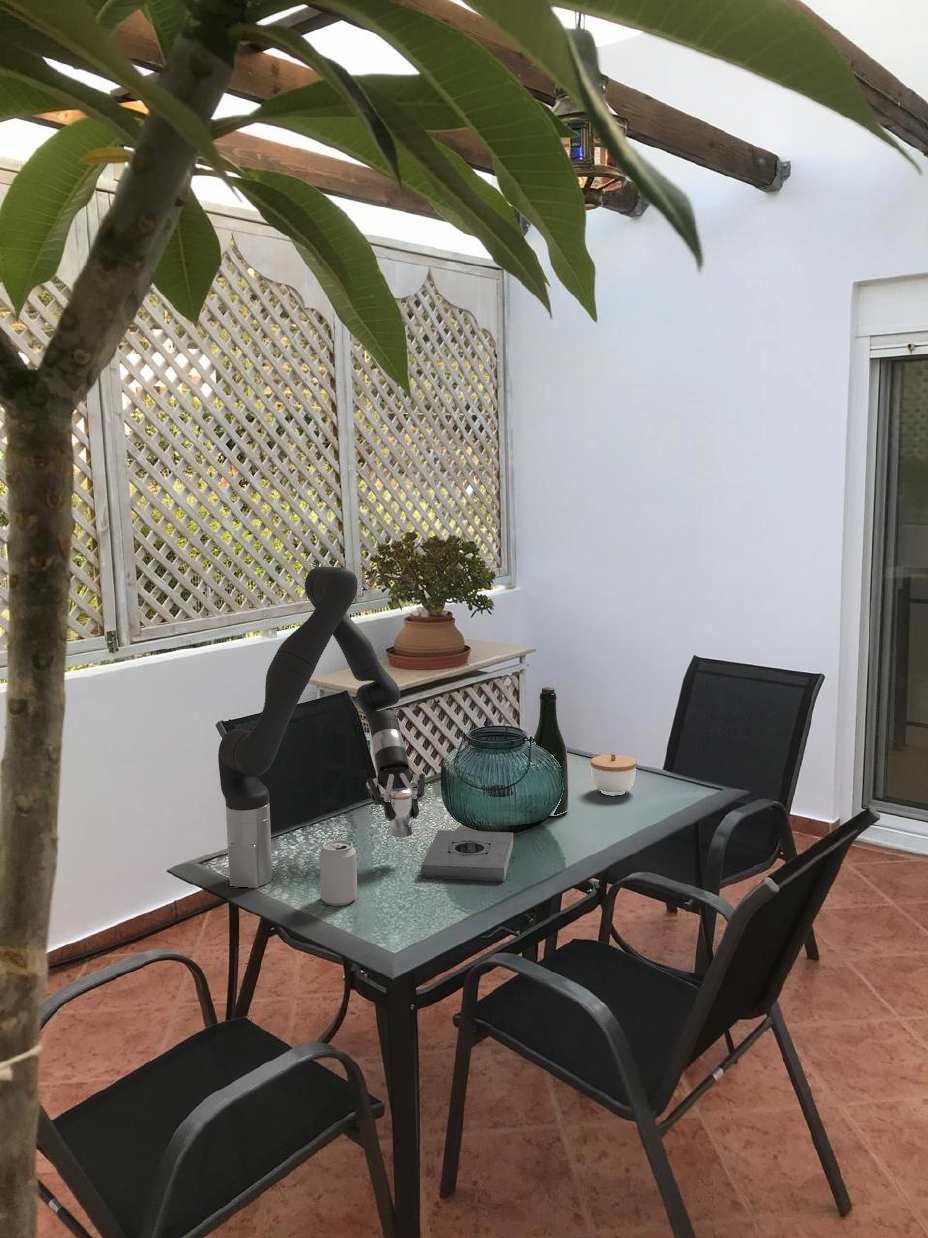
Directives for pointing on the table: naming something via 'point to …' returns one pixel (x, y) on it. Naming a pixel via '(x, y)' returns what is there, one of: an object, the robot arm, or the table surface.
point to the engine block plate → (468, 855)
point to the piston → (401, 812)
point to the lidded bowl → (613, 772)
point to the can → (338, 872)
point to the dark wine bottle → (552, 739)
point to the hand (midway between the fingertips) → (403, 818)
